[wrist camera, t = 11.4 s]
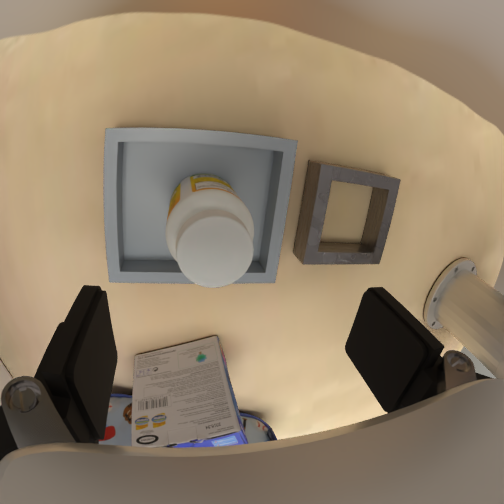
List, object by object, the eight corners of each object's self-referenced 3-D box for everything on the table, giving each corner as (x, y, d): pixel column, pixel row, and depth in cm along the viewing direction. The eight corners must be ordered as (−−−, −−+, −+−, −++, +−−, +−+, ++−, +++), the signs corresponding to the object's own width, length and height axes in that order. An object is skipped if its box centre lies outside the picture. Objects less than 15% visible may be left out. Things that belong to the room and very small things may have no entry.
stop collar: (385, 174, 27) (400, 179, 25) (366, 254, 30) (379, 263, 28) (308, 160, 24) (321, 164, 22) (292, 252, 28) (302, 264, 26)
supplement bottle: (214, 159, 22) (237, 180, 13) (246, 214, 24) (284, 265, 16) (156, 195, 22) (141, 240, 13) (191, 247, 24) (200, 314, 16)
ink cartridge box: (151, 384, 31) (156, 492, 18) (131, 354, 28) (125, 472, 16) (229, 366, 32) (260, 475, 19) (217, 333, 30) (248, 454, 17)
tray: (284, 138, 23) (297, 140, 21) (265, 267, 28) (274, 282, 25) (114, 128, 19) (105, 128, 17) (115, 265, 24) (109, 282, 21)
